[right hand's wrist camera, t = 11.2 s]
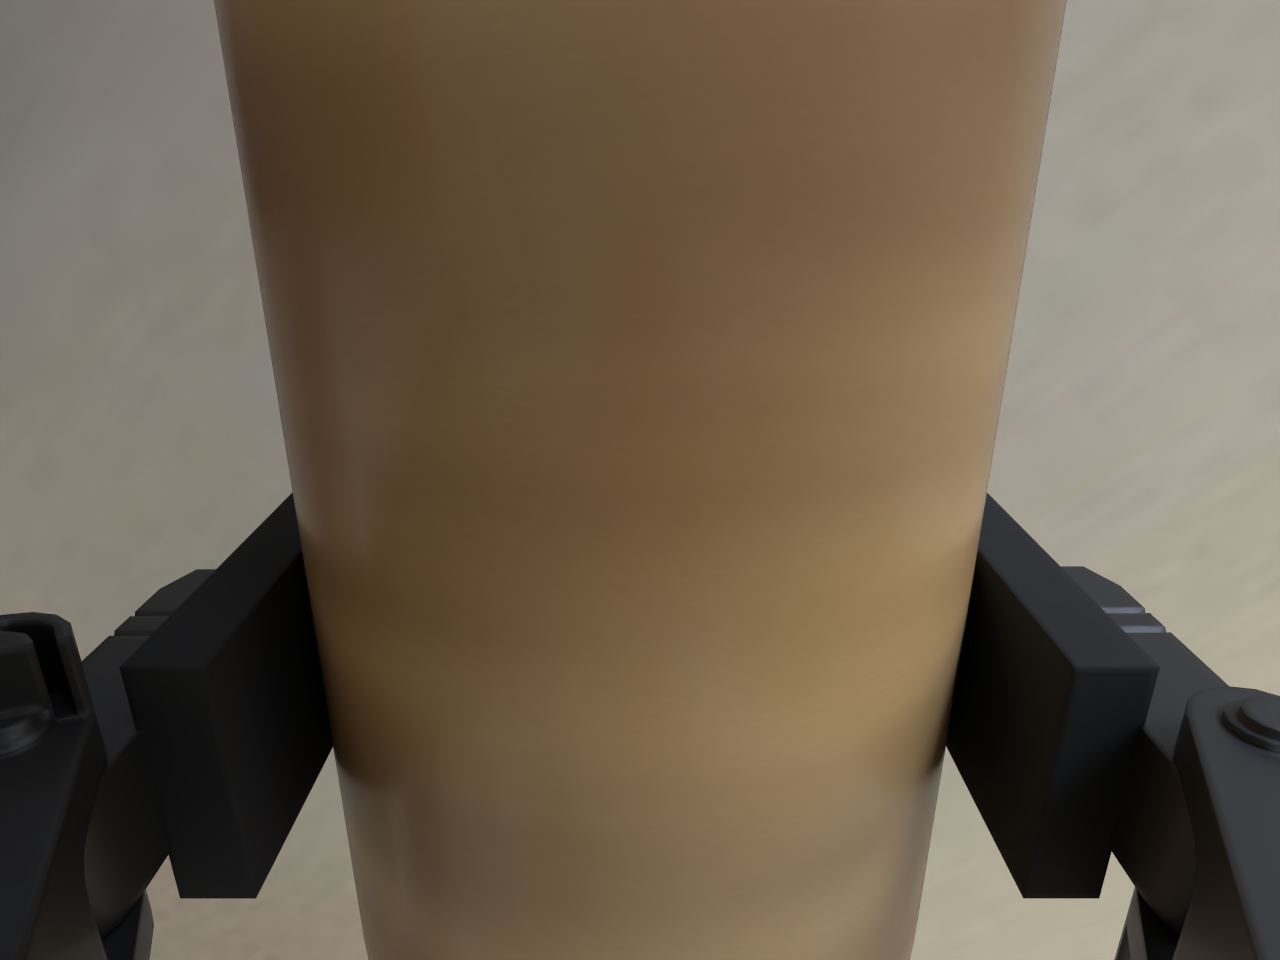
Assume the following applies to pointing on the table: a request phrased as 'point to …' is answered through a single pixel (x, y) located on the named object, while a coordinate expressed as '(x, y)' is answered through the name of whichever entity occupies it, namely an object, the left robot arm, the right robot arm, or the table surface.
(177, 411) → the table surface
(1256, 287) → the table surface
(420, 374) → the rod
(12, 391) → the table surface
